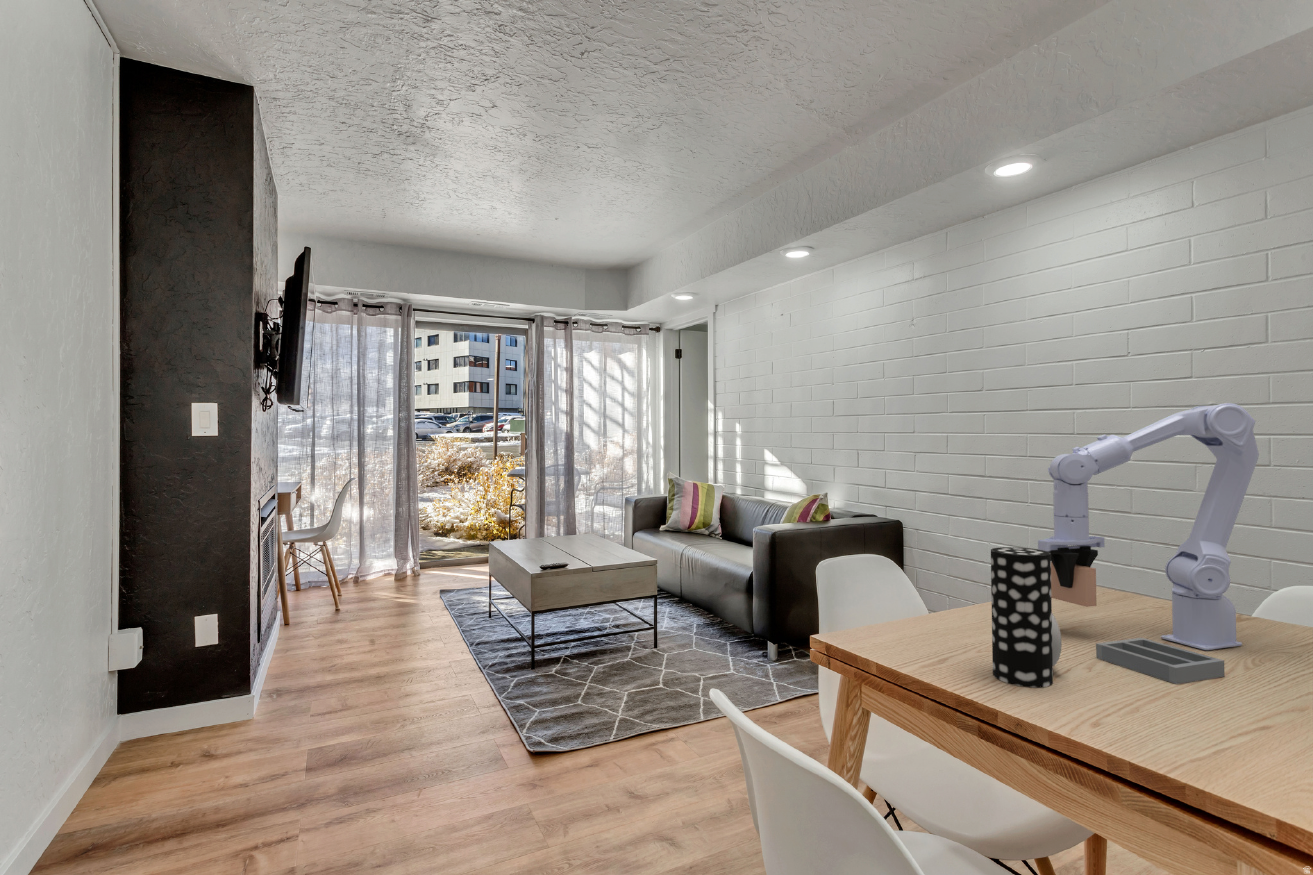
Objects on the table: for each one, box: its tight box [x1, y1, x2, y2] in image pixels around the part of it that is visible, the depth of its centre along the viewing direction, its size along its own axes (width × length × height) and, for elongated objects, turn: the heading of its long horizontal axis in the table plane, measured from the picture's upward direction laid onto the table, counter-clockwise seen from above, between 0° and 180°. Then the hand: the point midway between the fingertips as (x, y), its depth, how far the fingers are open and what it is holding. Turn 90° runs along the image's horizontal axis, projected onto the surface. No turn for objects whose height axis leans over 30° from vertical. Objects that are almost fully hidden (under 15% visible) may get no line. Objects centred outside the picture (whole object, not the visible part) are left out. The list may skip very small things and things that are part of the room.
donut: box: [1052, 613, 1062, 667], centre depth 108 cm, size 10×4×10 cm, turn 170°
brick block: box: [1051, 562, 1097, 608], centre depth 125 cm, size 2×8×7 cm, turn 17°
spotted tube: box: [990, 546, 1054, 689], centre depth 103 cm, size 8×8×20 cm
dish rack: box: [1095, 637, 1225, 685], centre depth 107 cm, size 11×13×2 cm
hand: (1072, 586), depth 125 cm, fingers closed on brick block, 2 cm apart
